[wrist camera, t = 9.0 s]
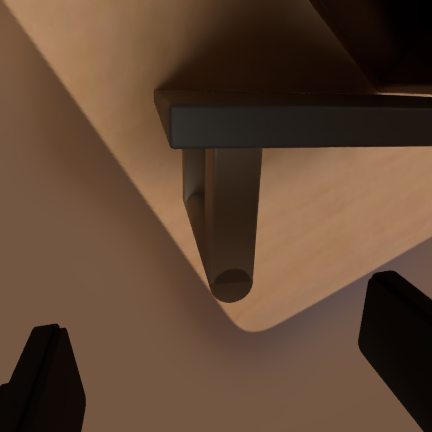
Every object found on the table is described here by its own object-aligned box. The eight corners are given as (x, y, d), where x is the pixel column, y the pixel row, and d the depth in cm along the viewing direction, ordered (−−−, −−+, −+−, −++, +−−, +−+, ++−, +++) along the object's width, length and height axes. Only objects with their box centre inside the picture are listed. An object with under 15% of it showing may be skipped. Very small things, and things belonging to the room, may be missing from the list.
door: (356, 182, 25) (633, 312, 11) (157, 188, 22) (176, 375, 8) (373, 94, 23) (753, 111, 8) (153, 89, 20) (168, 103, 6)
